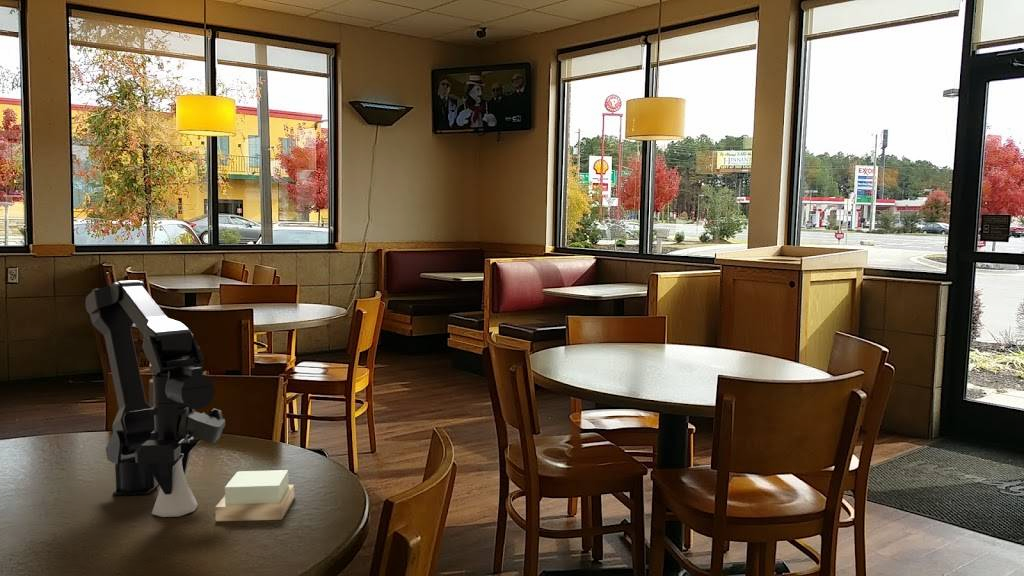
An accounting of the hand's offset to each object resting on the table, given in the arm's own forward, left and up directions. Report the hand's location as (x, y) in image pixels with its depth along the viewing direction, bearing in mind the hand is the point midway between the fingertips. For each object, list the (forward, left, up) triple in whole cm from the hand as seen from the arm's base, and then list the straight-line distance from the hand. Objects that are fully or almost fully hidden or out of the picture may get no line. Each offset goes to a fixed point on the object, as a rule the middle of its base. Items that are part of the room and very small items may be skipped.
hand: (174, 488), depth 142 cm
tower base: (+14, 0, -5) cm, 15 cm away
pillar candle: (-17, +51, -4) cm, 54 cm away
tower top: (+14, 0, -2) cm, 14 cm away
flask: (0, 0, -4) cm, 4 cm away
